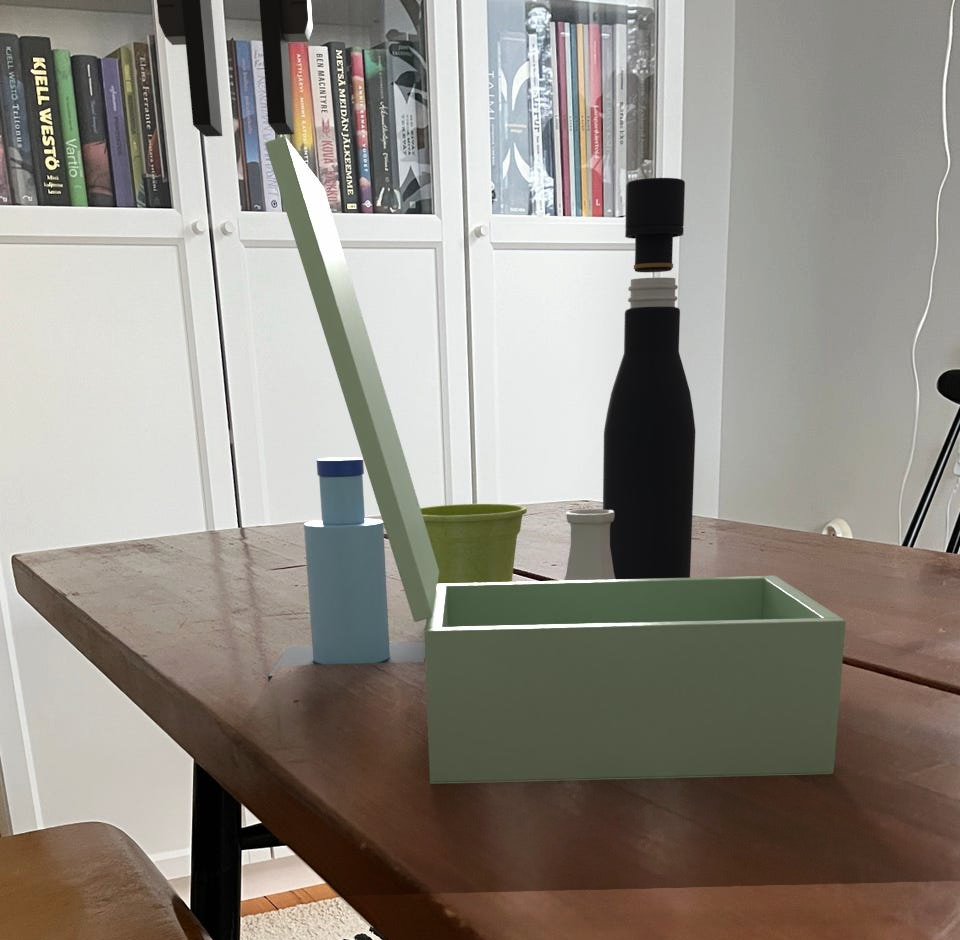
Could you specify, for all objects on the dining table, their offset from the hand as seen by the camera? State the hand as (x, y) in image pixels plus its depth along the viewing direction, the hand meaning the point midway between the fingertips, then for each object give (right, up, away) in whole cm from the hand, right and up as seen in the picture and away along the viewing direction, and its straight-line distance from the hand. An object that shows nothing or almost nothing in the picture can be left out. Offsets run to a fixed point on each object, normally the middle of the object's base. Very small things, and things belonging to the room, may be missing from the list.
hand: (244, 128), depth 55 cm
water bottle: (+1, -18, +31) cm, 36 cm away
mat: (+1, -19, +32) cm, 37 cm away
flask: (+17, -19, +30) cm, 39 cm away
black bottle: (+22, -15, +39) cm, 48 cm away
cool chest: (+17, -26, +10) cm, 33 cm away
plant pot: (+9, -13, +47) cm, 49 cm away
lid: (+5, -10, +4) cm, 12 cm away
